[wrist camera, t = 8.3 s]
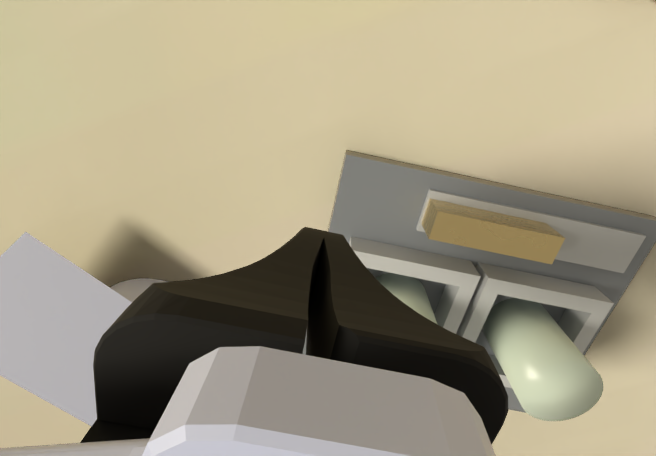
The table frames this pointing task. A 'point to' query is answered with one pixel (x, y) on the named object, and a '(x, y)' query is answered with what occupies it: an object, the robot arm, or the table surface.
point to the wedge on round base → (56, 324)
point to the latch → (491, 231)
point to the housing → (483, 266)
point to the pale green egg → (541, 361)
